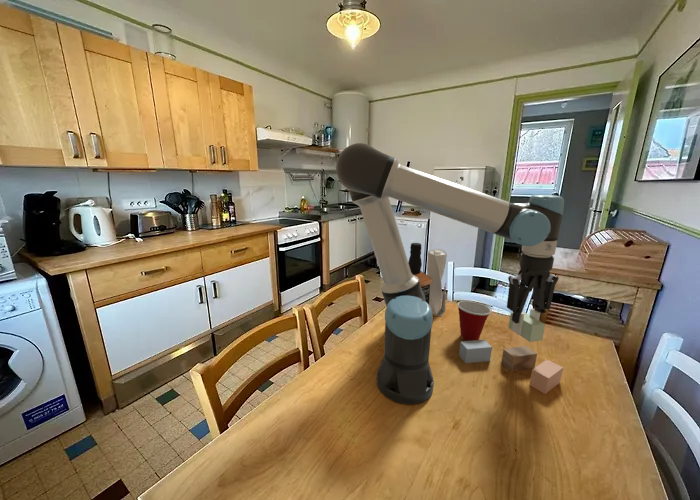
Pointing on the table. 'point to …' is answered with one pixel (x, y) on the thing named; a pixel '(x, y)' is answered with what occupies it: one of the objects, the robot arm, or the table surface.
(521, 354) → the walnut block
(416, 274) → the whiskey bottle
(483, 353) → the slate block
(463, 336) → the plastic cup
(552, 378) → the terracotta block
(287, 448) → the table surface
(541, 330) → the sage block
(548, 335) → the table surface
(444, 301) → the skyscraper
